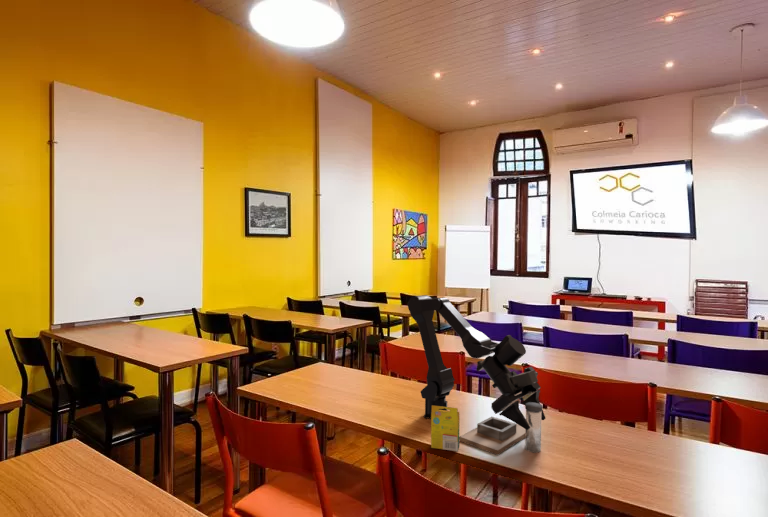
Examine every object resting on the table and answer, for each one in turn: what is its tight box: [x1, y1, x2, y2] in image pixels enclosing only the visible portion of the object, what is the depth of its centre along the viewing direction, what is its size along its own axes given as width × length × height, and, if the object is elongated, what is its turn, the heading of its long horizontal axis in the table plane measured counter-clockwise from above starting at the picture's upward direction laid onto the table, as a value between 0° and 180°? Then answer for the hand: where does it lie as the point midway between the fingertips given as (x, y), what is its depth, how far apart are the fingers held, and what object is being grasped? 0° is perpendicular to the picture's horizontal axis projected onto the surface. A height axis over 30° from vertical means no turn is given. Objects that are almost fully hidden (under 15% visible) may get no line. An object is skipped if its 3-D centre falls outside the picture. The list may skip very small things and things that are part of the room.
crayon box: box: [430, 405, 460, 453], centre depth 120 cm, size 7×3×12 cm, turn 72°
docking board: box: [459, 416, 526, 456], centre depth 127 cm, size 12×20×4 cm, turn 136°
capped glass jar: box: [524, 402, 543, 454], centre depth 120 cm, size 4×4×12 cm
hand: (536, 424), depth 119 cm, fingers open, 9 cm apart
